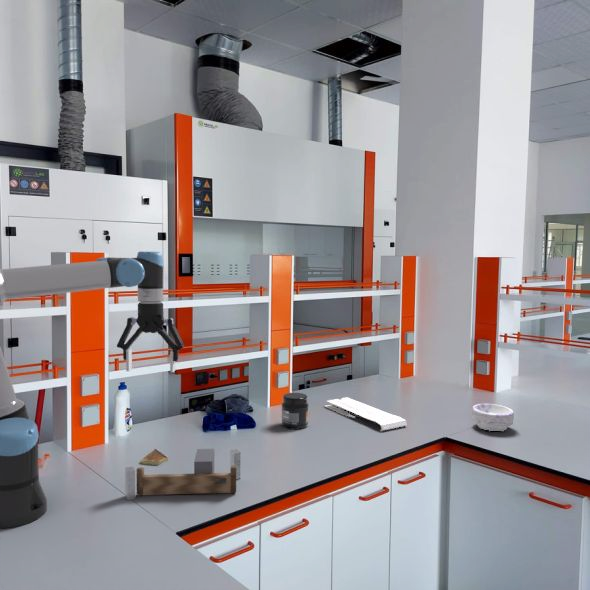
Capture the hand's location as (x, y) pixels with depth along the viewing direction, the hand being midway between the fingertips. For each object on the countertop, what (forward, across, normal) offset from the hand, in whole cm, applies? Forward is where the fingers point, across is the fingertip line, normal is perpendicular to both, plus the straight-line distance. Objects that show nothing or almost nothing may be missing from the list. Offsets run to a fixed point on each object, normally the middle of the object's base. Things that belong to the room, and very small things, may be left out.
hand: (150, 371), depth 169 cm
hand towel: (+31, +70, +61) cm, 98 cm away
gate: (+30, +16, -18) cm, 38 cm away
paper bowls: (+30, +119, +50) cm, 133 cm away
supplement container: (+31, +42, +46) cm, 69 cm away
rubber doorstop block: (+30, +19, -11) cm, 38 cm away
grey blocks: (+30, +14, -13) cm, 36 cm away
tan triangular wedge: (+31, -2, +7) cm, 32 cm away
